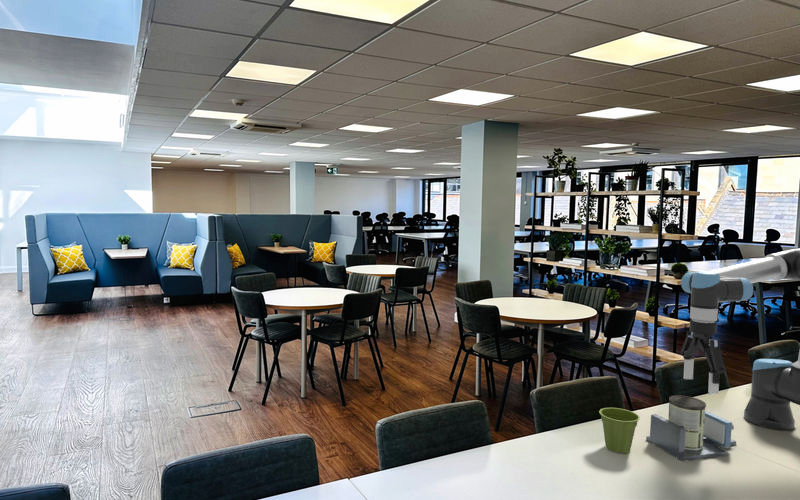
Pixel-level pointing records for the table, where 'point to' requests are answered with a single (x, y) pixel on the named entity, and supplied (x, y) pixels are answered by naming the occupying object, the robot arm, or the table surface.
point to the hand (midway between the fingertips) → (700, 385)
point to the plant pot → (618, 428)
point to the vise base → (680, 441)
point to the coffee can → (689, 419)
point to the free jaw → (717, 429)
